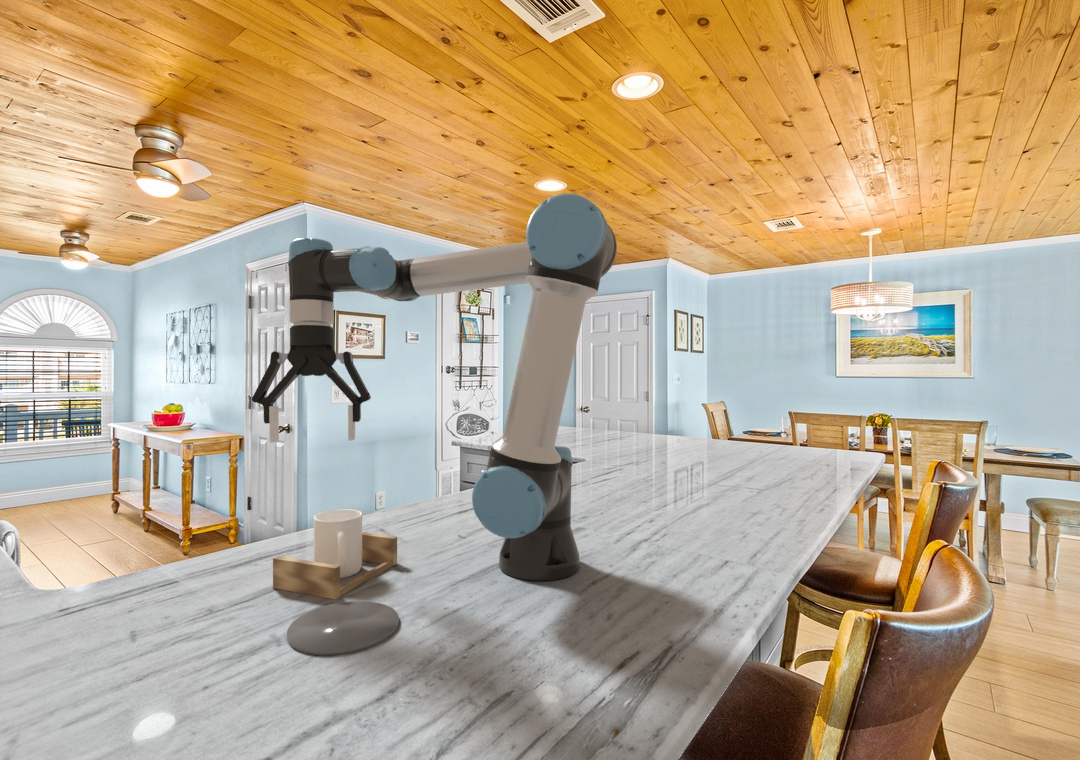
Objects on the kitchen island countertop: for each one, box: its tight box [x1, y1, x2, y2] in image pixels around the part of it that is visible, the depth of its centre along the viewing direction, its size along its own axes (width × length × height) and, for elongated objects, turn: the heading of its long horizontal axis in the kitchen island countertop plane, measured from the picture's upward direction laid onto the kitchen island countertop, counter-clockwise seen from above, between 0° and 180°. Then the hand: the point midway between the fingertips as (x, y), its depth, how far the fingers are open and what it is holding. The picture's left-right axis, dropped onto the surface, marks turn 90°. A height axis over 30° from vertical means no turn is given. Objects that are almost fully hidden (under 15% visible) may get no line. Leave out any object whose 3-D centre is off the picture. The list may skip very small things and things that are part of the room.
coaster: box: [286, 600, 400, 656], centre depth 79 cm, size 15×15×1 cm
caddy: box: [272, 531, 398, 600], centre depth 98 cm, size 13×17×5 cm
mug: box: [313, 508, 363, 579], centre depth 98 cm, size 12×8×10 cm
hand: (313, 440), depth 102 cm, fingers open, 13 cm apart
